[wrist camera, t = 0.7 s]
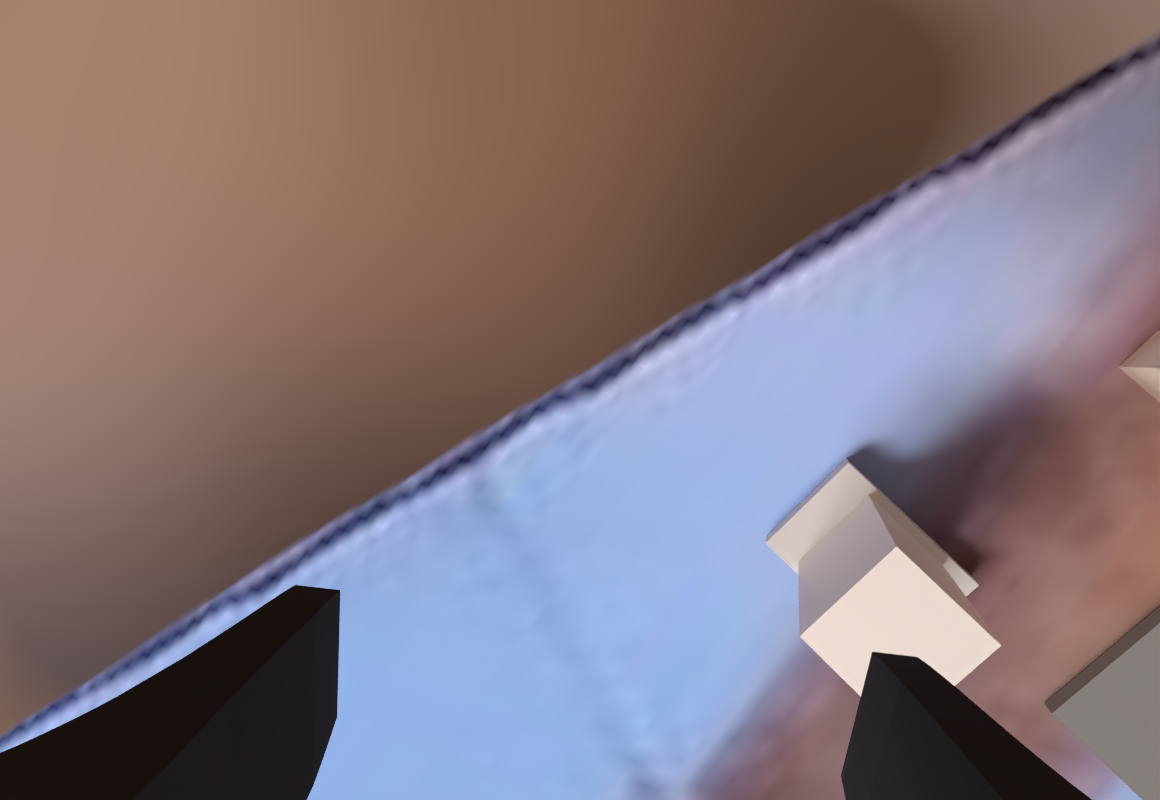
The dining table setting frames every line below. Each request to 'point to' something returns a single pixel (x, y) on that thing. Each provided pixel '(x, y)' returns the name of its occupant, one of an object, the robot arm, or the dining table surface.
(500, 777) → the dining table surface
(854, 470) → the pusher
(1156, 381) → the wooden block
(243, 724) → the robot arm
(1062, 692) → the slate mat
